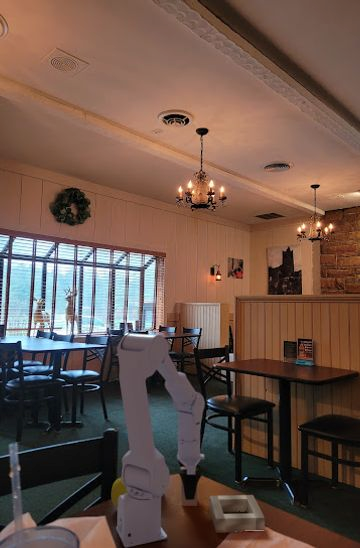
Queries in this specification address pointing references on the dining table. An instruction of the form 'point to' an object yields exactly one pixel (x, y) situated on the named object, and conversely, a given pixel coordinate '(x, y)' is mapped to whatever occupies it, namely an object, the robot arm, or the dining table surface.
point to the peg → (182, 495)
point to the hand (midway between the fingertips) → (188, 492)
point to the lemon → (117, 491)
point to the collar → (236, 521)
